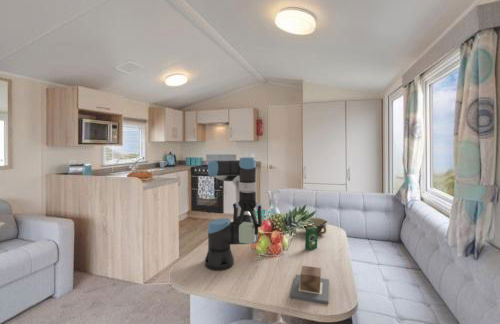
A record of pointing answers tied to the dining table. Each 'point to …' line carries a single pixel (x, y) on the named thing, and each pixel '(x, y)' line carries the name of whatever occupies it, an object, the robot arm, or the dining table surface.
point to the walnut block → (310, 279)
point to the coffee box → (311, 238)
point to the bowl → (318, 224)
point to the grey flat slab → (309, 295)
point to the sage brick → (246, 232)
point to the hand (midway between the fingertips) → (247, 240)
